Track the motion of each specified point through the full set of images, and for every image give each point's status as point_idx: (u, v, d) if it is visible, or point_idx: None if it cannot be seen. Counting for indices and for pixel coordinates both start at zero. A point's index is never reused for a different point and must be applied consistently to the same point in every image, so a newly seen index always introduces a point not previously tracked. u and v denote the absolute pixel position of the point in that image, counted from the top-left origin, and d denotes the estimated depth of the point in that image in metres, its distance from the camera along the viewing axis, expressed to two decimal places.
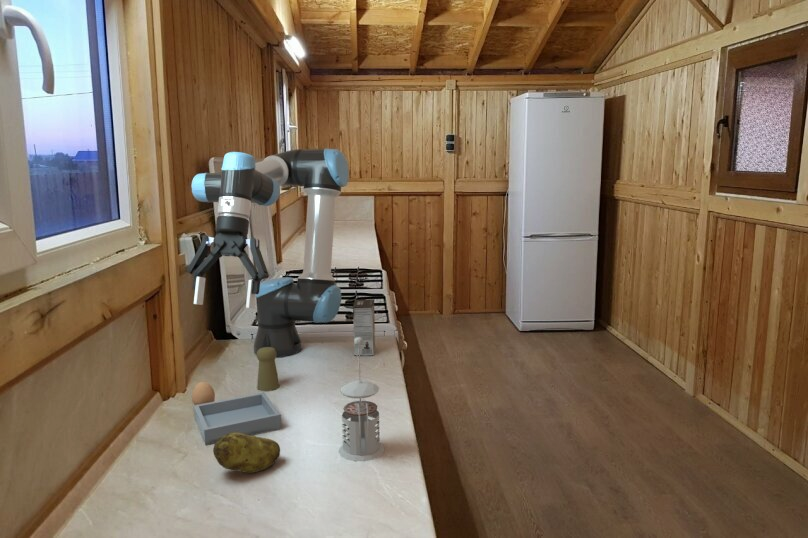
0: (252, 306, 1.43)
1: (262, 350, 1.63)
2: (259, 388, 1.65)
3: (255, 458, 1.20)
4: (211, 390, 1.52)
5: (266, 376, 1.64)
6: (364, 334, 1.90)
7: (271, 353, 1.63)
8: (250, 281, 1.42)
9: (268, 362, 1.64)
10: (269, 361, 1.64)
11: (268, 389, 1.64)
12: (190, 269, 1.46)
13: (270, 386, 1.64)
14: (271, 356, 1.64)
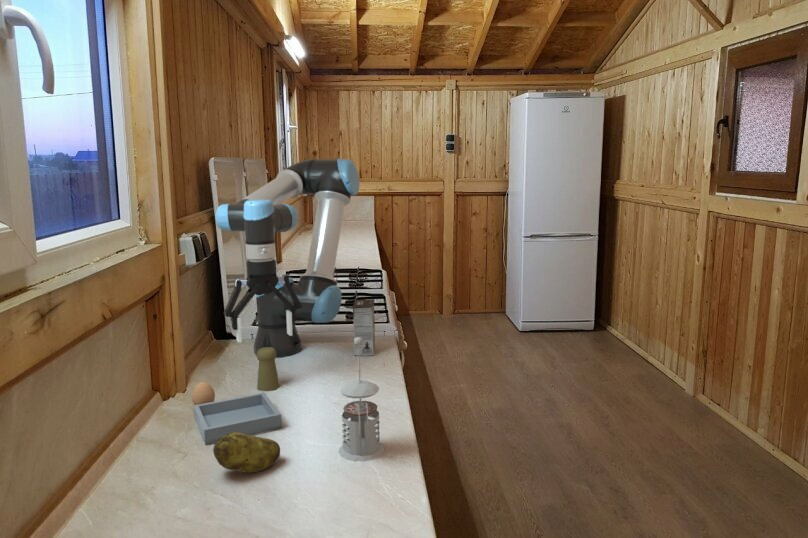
0: None
1: (262, 350, 1.63)
2: (259, 388, 1.65)
3: (255, 458, 1.21)
4: (211, 390, 1.52)
5: (266, 376, 1.64)
6: (363, 334, 1.90)
7: (271, 353, 1.63)
8: (290, 313, 1.65)
9: (268, 362, 1.64)
10: (269, 361, 1.64)
11: (268, 389, 1.64)
12: (229, 313, 1.58)
13: (270, 386, 1.64)
14: (271, 356, 1.64)
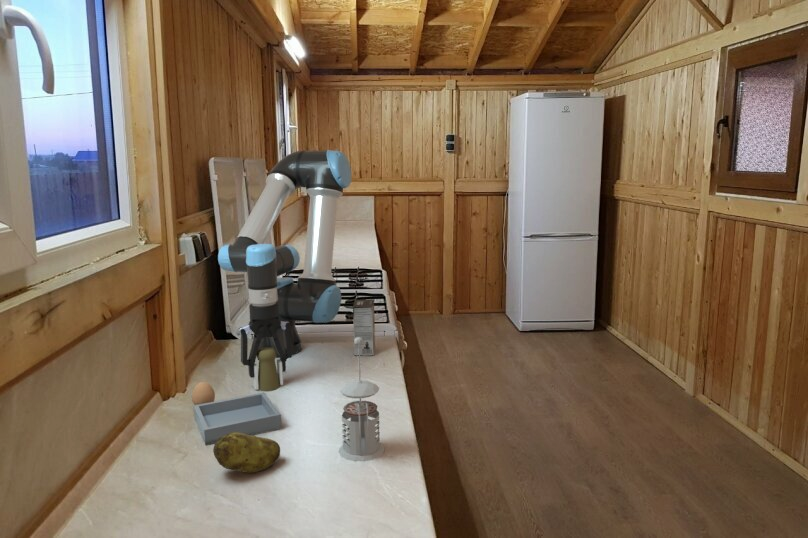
0: None
1: (262, 350, 1.63)
2: (259, 388, 1.65)
3: (255, 458, 1.21)
4: (211, 390, 1.52)
5: (266, 376, 1.64)
6: (363, 334, 1.90)
7: (271, 353, 1.63)
8: (281, 363, 1.66)
9: (268, 361, 1.64)
10: (269, 361, 1.64)
11: (268, 389, 1.64)
12: (246, 361, 1.62)
13: (270, 386, 1.64)
14: (271, 356, 1.64)
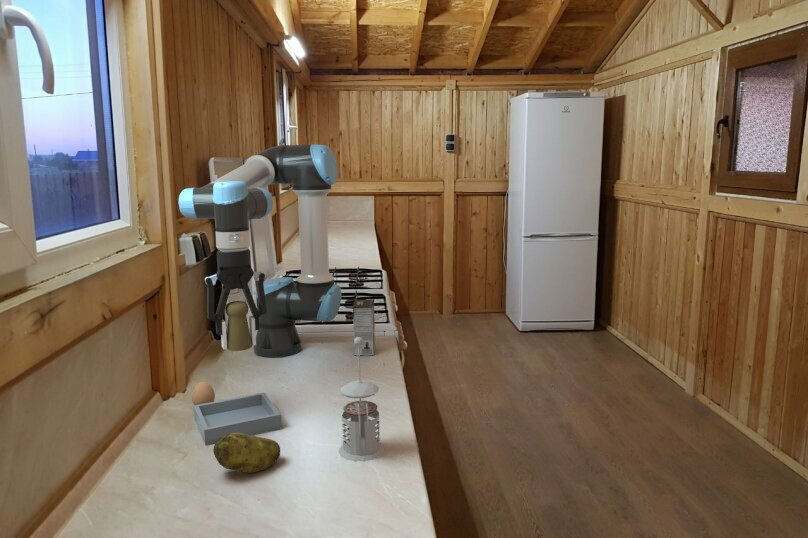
0: None
1: (231, 304, 1.42)
2: (228, 348, 1.43)
3: (255, 457, 1.21)
4: (211, 390, 1.52)
5: (236, 333, 1.42)
6: (363, 334, 1.90)
7: (242, 307, 1.42)
8: (253, 320, 1.45)
9: (238, 317, 1.42)
10: (239, 317, 1.42)
11: (238, 349, 1.43)
12: (212, 316, 1.40)
13: (241, 345, 1.43)
14: (242, 311, 1.42)
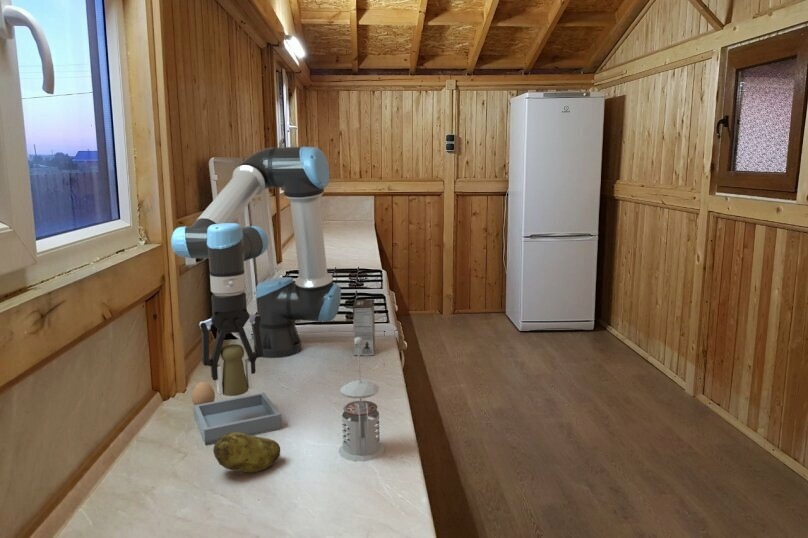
0: None
1: (227, 348, 1.39)
2: (223, 392, 1.41)
3: (255, 457, 1.21)
4: (211, 390, 1.52)
5: (231, 378, 1.40)
6: (363, 334, 1.90)
7: (237, 352, 1.39)
8: (249, 363, 1.42)
9: (234, 361, 1.40)
10: (235, 361, 1.40)
11: (234, 393, 1.40)
12: (207, 361, 1.38)
13: (237, 390, 1.40)
14: (237, 355, 1.39)
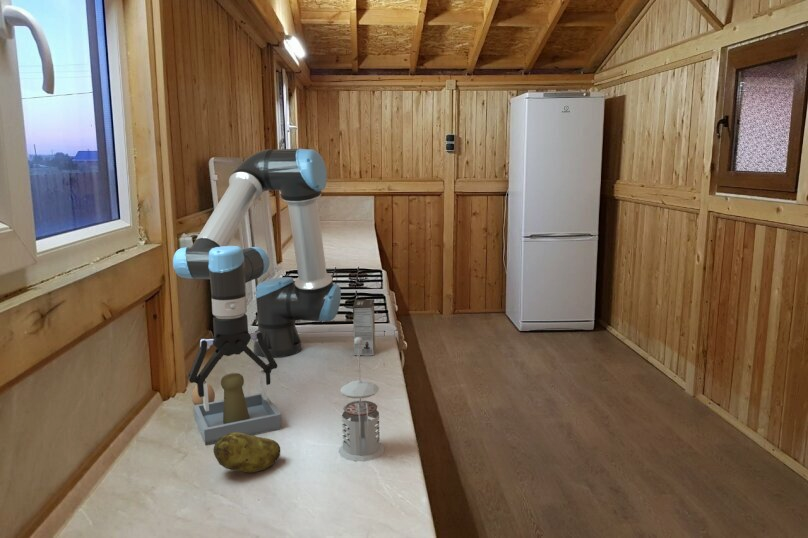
0: None
1: (226, 377, 1.41)
2: (225, 422, 1.42)
3: (255, 457, 1.21)
4: (211, 390, 1.52)
5: (232, 407, 1.41)
6: (364, 334, 1.90)
7: (237, 380, 1.41)
8: (264, 375, 1.44)
9: (234, 390, 1.41)
10: (235, 390, 1.41)
11: None
12: (194, 378, 1.37)
13: (238, 418, 1.42)
14: (237, 384, 1.41)
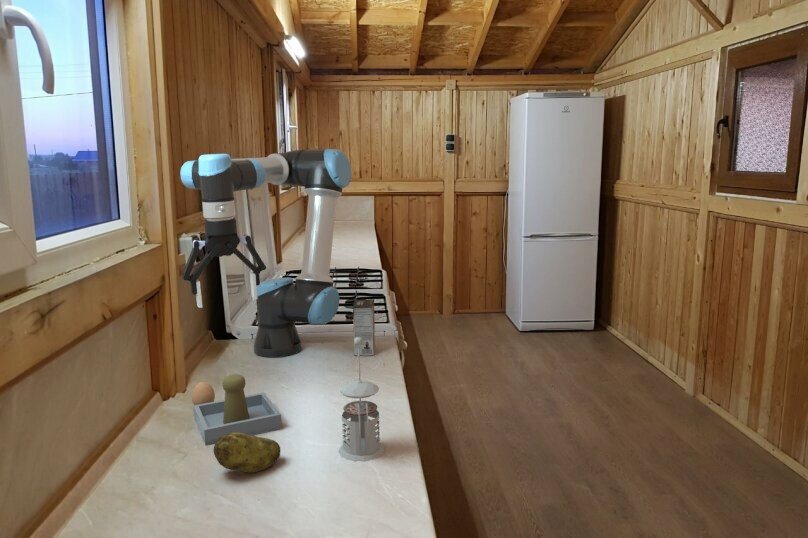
0: None
1: (228, 379, 1.41)
2: (225, 423, 1.42)
3: (255, 457, 1.21)
4: (211, 390, 1.52)
5: (233, 409, 1.41)
6: (364, 334, 1.90)
7: (239, 382, 1.41)
8: (254, 275, 1.55)
9: (236, 392, 1.41)
10: (236, 392, 1.41)
11: None
12: (187, 276, 1.47)
13: (239, 420, 1.42)
14: (239, 386, 1.41)
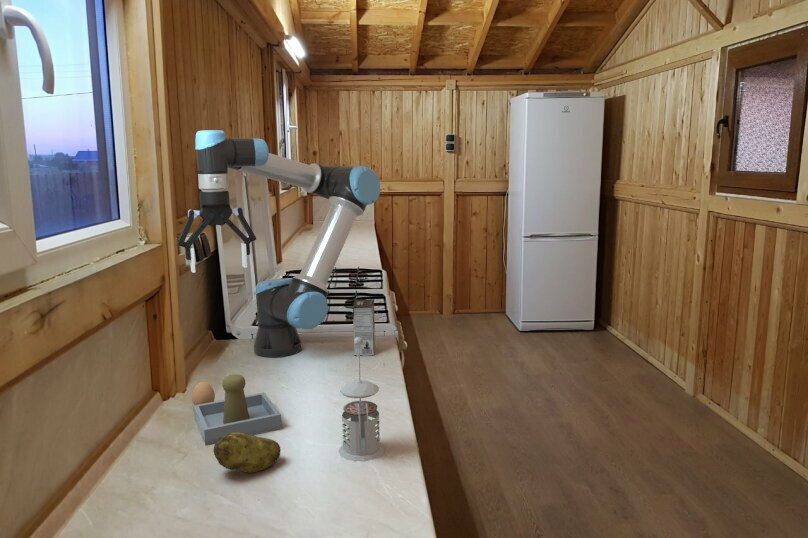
0: None
1: (228, 379, 1.41)
2: (225, 423, 1.42)
3: (255, 457, 1.21)
4: (211, 390, 1.52)
5: (233, 409, 1.41)
6: (364, 334, 1.90)
7: (239, 382, 1.41)
8: (245, 245, 1.67)
9: (235, 392, 1.41)
10: (236, 392, 1.41)
11: None
12: (182, 242, 1.59)
13: (239, 420, 1.42)
14: (239, 386, 1.41)
